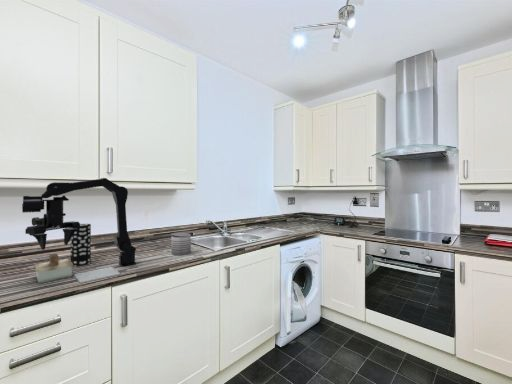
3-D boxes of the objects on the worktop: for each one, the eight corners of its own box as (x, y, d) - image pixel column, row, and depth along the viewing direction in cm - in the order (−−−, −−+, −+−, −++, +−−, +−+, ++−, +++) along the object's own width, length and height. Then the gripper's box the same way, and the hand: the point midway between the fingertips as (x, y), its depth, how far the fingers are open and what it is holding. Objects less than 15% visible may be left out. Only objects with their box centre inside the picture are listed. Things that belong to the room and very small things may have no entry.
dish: (67, 270, 115) (67, 260, 115) (71, 276, 107) (71, 266, 107) (35, 276, 107) (35, 266, 107) (38, 283, 99) (38, 272, 99)
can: (176, 250, 153) (176, 231, 153) (194, 251, 152) (194, 232, 152) (167, 255, 142) (167, 234, 142) (186, 256, 140) (186, 235, 140)
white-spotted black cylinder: (94, 261, 129) (94, 223, 129) (83, 266, 121) (83, 226, 120) (78, 261, 129) (78, 223, 128) (66, 266, 120) (66, 226, 120)
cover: (68, 260, 115) (68, 250, 115) (73, 266, 107) (73, 255, 107) (34, 266, 107) (34, 255, 107) (36, 272, 98) (36, 260, 98)
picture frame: (111, 267, 119) (111, 266, 119) (120, 274, 110) (120, 273, 110) (74, 275, 108) (74, 274, 108) (80, 283, 99) (80, 282, 99)
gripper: (63, 209, 117) (63, 241, 117) (15, 212, 99) (15, 251, 99) (81, 209, 114) (81, 243, 114) (35, 213, 96) (35, 253, 96)
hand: (54, 247), depth 106 cm, fingers open, 9 cm apart
